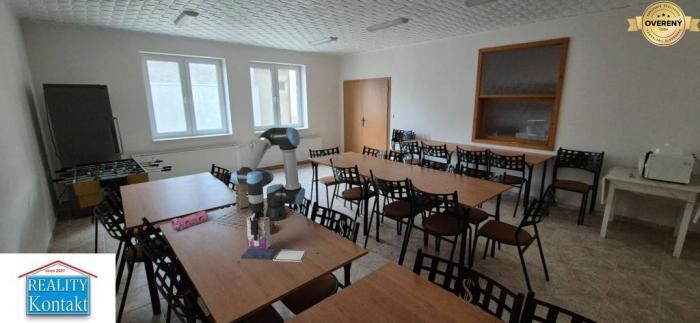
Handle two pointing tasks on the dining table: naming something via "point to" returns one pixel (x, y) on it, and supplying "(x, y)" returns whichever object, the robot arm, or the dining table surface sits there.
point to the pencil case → (189, 221)
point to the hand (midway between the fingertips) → (259, 242)
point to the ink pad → (259, 253)
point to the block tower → (242, 198)
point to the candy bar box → (262, 231)
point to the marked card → (290, 255)
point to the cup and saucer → (272, 227)
